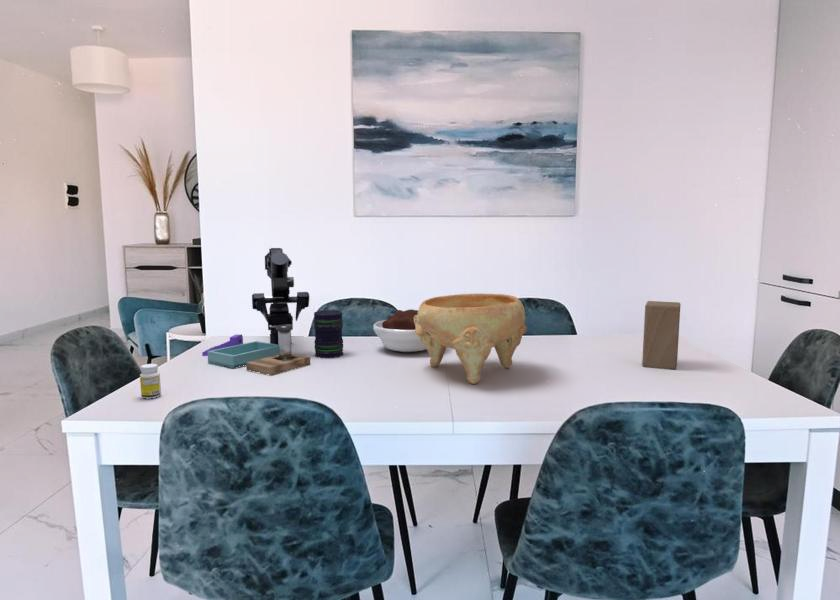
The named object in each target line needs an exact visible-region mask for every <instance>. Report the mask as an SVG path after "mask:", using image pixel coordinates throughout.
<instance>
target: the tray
mask: <svg viewBox="0 0 840 600" xmlns="http://www.w3.org/2000/svg"><path fill="white" fill-rule="evenodd" d="M275 355H279V345H277V344H271V343H270V342H265V341H259V340H255V341H251V342H245V343H243V344H240V345H235V346H230V347H226V348H221V349H216V350H211V351H208V356H207V364H211V365H214V364H215V366H218V365H220V366H219V367H223V366H226V367H225V368H228V367H231V368H230V369H232V368H235V369H237V368H236V367H239V366H243V365H246V362H250V361H255V360H259V359H263V358H267V357H271V356H275ZM243 367H244V366H243ZM239 368H240V367H239Z"/></svg>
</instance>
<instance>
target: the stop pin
mask: <svg viewBox="0 0 840 600" xmlns="http://www.w3.org/2000/svg"><path fill="white" fill-rule="evenodd" d="M276 330H277V331H278V343H279V360H282V361H287V360H291V359H292V354H293V353H292V351H293V350H292V344H291V343H292V331H293V330H294V325H289V324H283V325H277V326H276Z"/></svg>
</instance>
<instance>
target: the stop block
mask: <svg viewBox="0 0 840 600" xmlns="http://www.w3.org/2000/svg"><path fill="white" fill-rule="evenodd" d="M306 365H307V366H310V365H311V356H308V355H307V356H306V355H300V354H296V353H295V354H294V353H292V359H291V360H287V361H282V360H279V355H275V356H271V357H267V358H263V359H259V360H255V361H250V362H246V366H245V367H246V368H245V369H246V371H247V370H251V371H250V372H252V371H255V372H254V373H256V372H260V373H259V374H261V373H264V374H263V375H266V374H269V375H268V376H270V375H271V376H273V375H272V374H274V375H277V374H276V373H278V374H281V373H280V372H282V373H284V372H283V371H285V372H288V371H287V370H289V371H291V369H292V370H295V368H296V369H299V367H300V368H303V367H307V366H306Z"/></svg>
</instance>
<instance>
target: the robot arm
mask: <svg viewBox="0 0 840 600" xmlns="http://www.w3.org/2000/svg"><path fill="white" fill-rule="evenodd" d="M268 250H269V252H267V254H266V255H264V270H265V271H266V275H267V277H268V278H269V279H270V282H271V285H270V286H271V296H265V293H264V292H263V293H262V292H261V293H255V292H254V293H253V294H252V295H251V302H252V303H251V304H252V306H251V307H252V309H253V310H256V311H257V312H260V313H261V315H262V316H263V317H264V319H265V320H266V322H267V330H268V331H270V333H269V343H271V344H277V345H279V343H278V331H277V330H276V326H277V325H283V324H289V325H293V323H294V322H293V321H294V317H293V315H292V314H291V313H292V312H290V310H289V309H290V308H289V305H288V304H295V305H296V307H295V322H297V321H298V319H299V316H300V315H301V312H302V311H303V310H305V309H306V308H309V307H310V293H309V292H308V291H297V292H296V296H290V293H291V292H290V291H291V290H290V288H294V287H295V280H294V276H288V275H289V274H288V272H289V268H290V267H291V265H292V263H293V262H292V260H291V259H290V258H289V256H288V255H287V254H286V253H284V252H283V248H281V247H270V248H268ZM267 304H270V306H269V312H268V308H267ZM293 326H294V325H293ZM292 344H293V342H291V345H292Z"/></svg>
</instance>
